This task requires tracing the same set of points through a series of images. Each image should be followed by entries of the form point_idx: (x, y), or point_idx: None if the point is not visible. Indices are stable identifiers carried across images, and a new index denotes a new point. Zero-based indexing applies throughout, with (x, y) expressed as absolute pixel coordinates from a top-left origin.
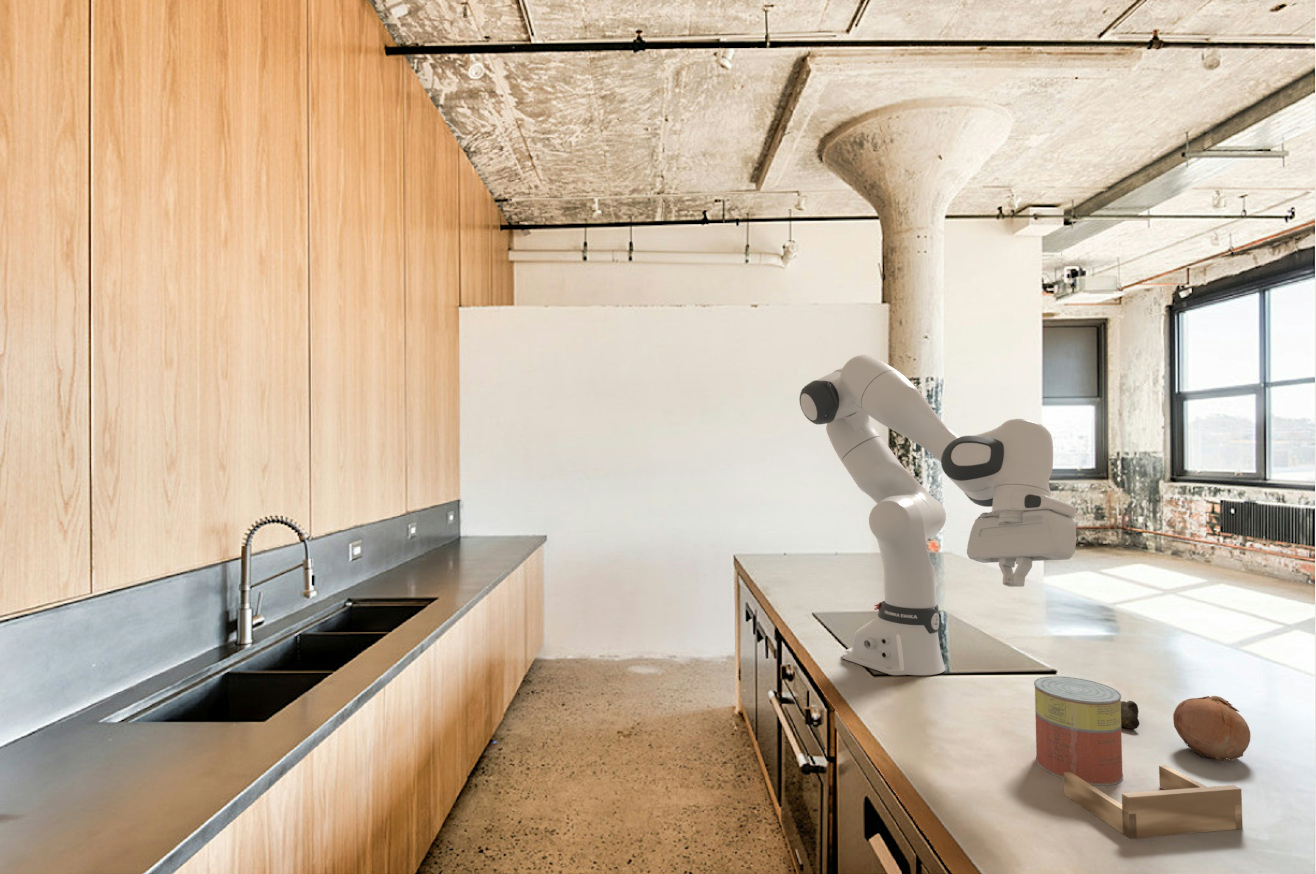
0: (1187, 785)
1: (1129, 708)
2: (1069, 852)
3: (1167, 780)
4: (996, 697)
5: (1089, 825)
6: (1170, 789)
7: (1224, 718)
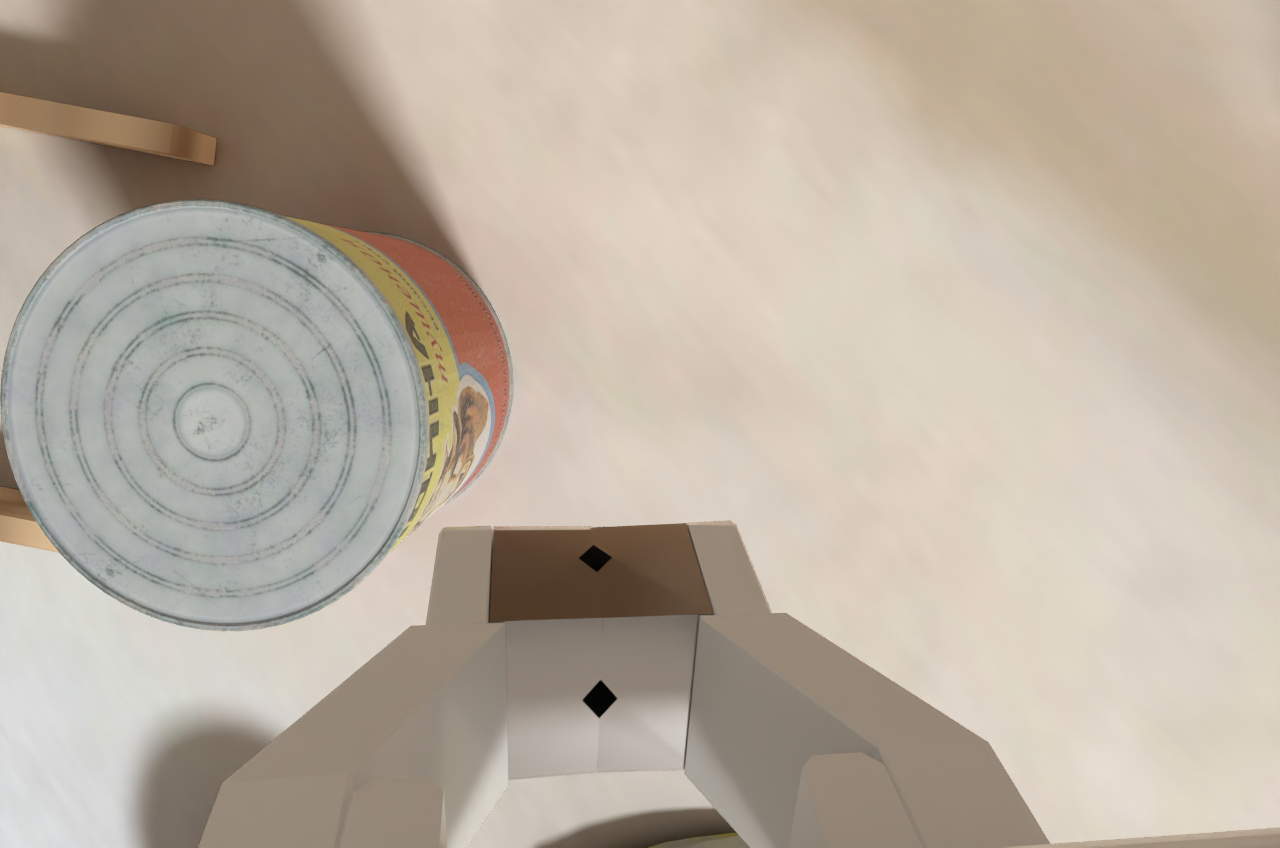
0: (26, 513)
1: None
2: None
3: None
4: (1074, 681)
5: (28, 31)
6: None
7: None
